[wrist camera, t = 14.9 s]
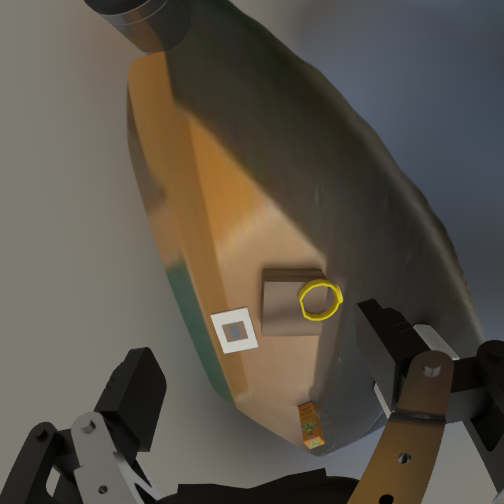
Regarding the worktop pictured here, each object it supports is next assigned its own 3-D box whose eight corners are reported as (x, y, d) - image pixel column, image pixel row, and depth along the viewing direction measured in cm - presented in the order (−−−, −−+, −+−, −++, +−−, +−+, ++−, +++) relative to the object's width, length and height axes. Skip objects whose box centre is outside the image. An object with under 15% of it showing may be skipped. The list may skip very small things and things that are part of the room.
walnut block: (262, 268, 46) (264, 281, 41) (320, 268, 46) (328, 281, 41) (260, 319, 49) (261, 336, 44) (314, 318, 49) (320, 335, 44)
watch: (296, 294, 39) (337, 278, 39) (292, 285, 42) (331, 270, 41) (308, 328, 41) (347, 313, 41) (304, 318, 44) (341, 303, 43)
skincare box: (418, 348, 52) (446, 385, 40) (401, 348, 52) (428, 388, 40) (430, 323, 50) (461, 358, 39) (413, 322, 50) (444, 359, 38)
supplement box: (311, 399, 55) (320, 436, 45) (317, 408, 56) (326, 444, 46) (296, 405, 55) (303, 443, 46) (303, 414, 56) (310, 450, 47)
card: (210, 314, 48) (210, 315, 47) (246, 306, 47) (246, 307, 47) (224, 352, 50) (224, 353, 50) (258, 345, 50) (258, 347, 50)
